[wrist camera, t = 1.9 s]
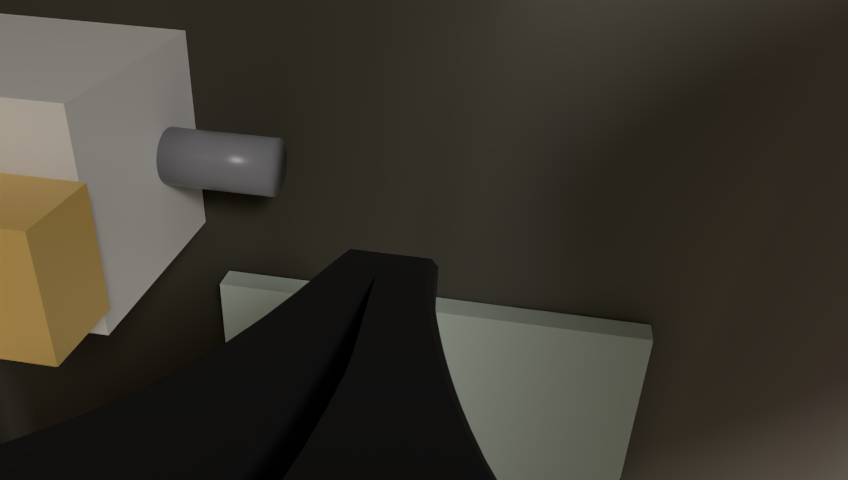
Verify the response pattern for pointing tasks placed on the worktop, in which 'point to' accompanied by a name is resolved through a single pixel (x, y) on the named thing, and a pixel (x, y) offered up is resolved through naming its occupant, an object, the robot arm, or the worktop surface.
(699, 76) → the worktop surface
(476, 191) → the worktop surface
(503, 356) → the mat
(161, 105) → the plug
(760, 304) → the worktop surface
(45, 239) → the mustard yellow beam
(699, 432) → the worktop surface
